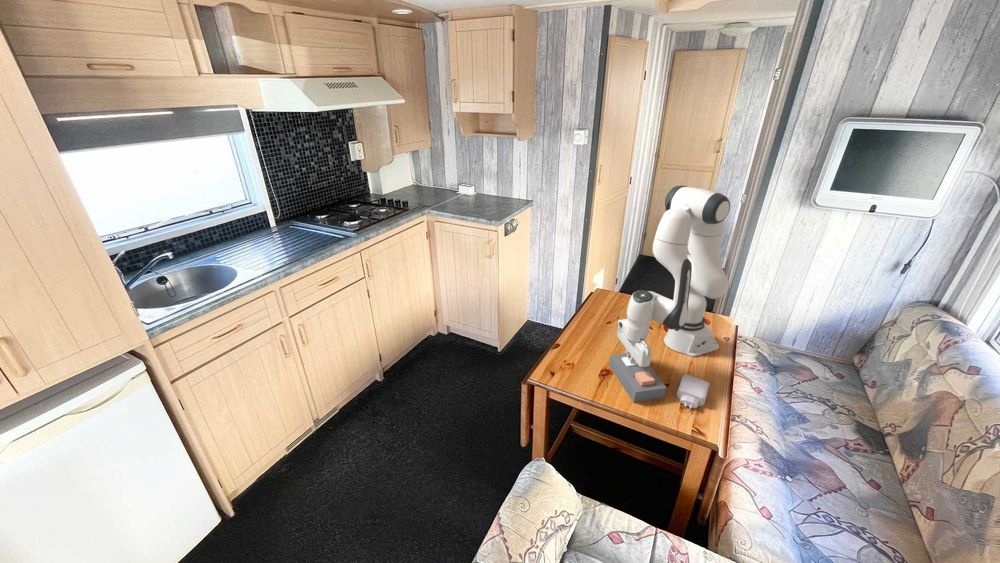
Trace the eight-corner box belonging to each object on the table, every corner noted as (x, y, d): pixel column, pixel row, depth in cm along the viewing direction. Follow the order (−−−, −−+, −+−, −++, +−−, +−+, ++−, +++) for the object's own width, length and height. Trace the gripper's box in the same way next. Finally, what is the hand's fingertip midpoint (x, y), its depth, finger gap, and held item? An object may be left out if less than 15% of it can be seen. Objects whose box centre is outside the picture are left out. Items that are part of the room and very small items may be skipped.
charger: (672, 407, 143) (680, 382, 154) (700, 418, 138) (707, 391, 149) (675, 397, 140) (683, 373, 152) (703, 408, 136) (710, 382, 147)
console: (636, 361, 165) (638, 351, 162) (663, 397, 146) (666, 387, 144) (608, 365, 163) (610, 355, 160) (633, 402, 144) (635, 392, 142)
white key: (632, 362, 161) (633, 356, 159) (638, 370, 156) (639, 364, 155) (620, 363, 160) (621, 357, 159) (626, 371, 156) (627, 365, 154)
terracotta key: (646, 377, 150) (648, 370, 149) (653, 386, 146) (655, 379, 145) (634, 378, 150) (635, 372, 148) (640, 388, 145) (642, 381, 144)
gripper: (658, 347, 142) (651, 377, 148) (631, 316, 160) (626, 344, 166) (641, 349, 141) (635, 379, 147) (616, 318, 158) (611, 346, 165)
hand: (630, 360), depth 157 cm, fingers closed, pressing on white key
